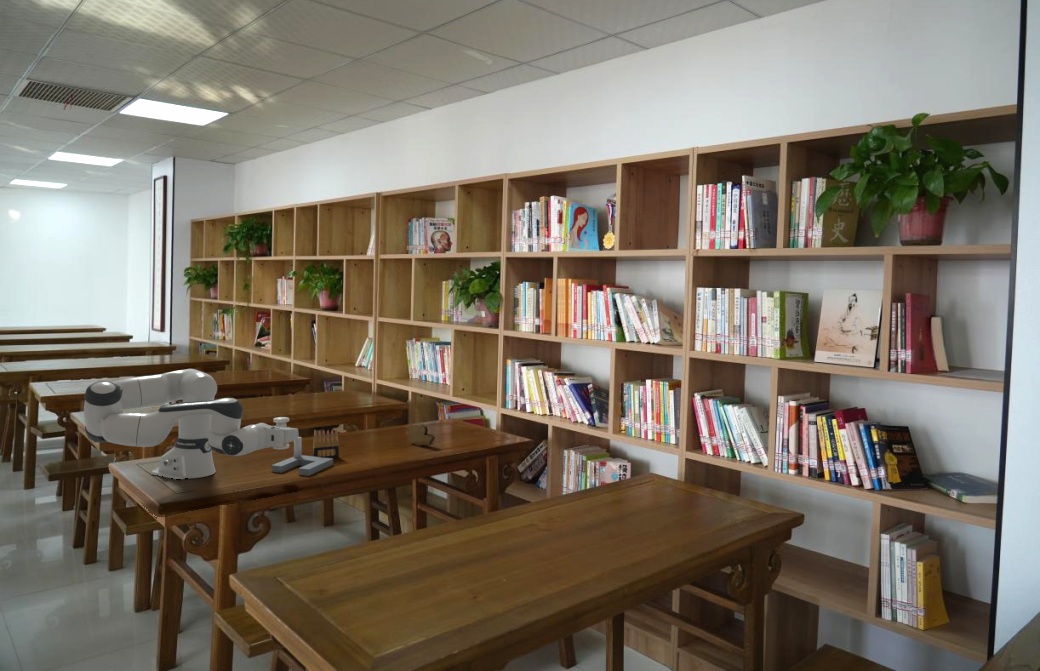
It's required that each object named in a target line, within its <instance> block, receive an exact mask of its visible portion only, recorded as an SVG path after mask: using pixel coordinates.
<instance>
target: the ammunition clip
mask: <svg viewBox="0 0 1040 671" xmlns="http://www.w3.org/2000/svg"><path fill="white" fill-rule="evenodd" d="M312 443H313V444H312V455H311V456H313V457H323V458H332V459H339V458H340V453H339V452H340V450H339V448H340V446H339V433H338V429H335V432H334V430H333V429H331V432H330V431H329V429H328V430H327V431H326V432H325V429H323V430H322V433H321V430H318V433H317V431H316V430H314V434H313V441H312Z"/></svg>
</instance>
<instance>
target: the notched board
mask: <svg viewBox="0 0 1040 671" xmlns="http://www.w3.org/2000/svg"><path fill="white" fill-rule="evenodd" d="M302 442H303V438H302V437H301V436H298V438H297V439H296V440H294V441H293V456H292V457H289V458H286V459H284V460H282V461H279V462H277V463H273V464H272V465H271V472H272V473H281V474H282V473H284V472H287V471H289V470H291V469H294V468H295V467H298V466H300V465H301V466H300V467H299V468H298V475H300V476H305V477H306V476H308V477H309V476H311V475H313V474H316V473H318V472H320V471H322V470H324V469H326V468H329V467H332V466H333V465H334V458H323V457H313V456H312V455H303V453H302V452H303V451H302V449H303V447H302V446H303V443H302Z"/></svg>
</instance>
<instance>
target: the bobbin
mask: <svg viewBox="0 0 1040 671" xmlns="http://www.w3.org/2000/svg"><path fill="white" fill-rule="evenodd" d="M288 422H290V418H289V417H287V416H279V417H274V418H273V423H275V424H276V425H275V426H276V427H287V423H288ZM289 448H290V444H289V443H285V444H283V446H281V447H272V449H274V450H279V451H280V450H287V449H289Z"/></svg>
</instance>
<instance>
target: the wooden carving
mask: <svg viewBox="0 0 1040 671" xmlns="http://www.w3.org/2000/svg"><path fill="white" fill-rule="evenodd" d="M408 430H409V431H406V432H405V434H406V435H407V436H408V438H407V439H408V441H409V442H411V443H412V444H414V445H415V446H424V445H425V446H427V447H429V446H432V445H433V443H434V441H435V438H436V437H435V436H434V434H431V433H428V431H429V430H428V427H427V426H425V425H424V424H422V423H418V422H417V423H414V424H413V423H411V424H409V425H408Z"/></svg>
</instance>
